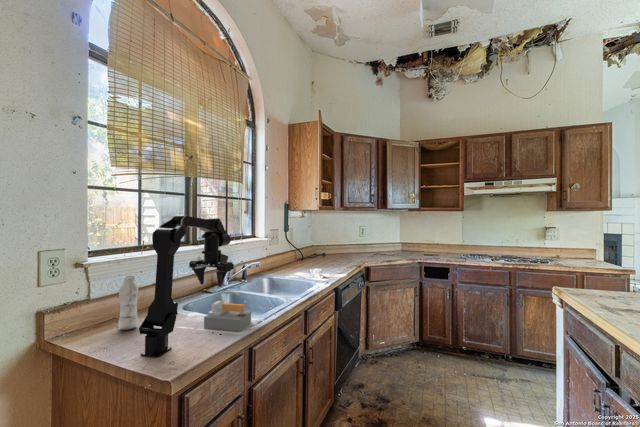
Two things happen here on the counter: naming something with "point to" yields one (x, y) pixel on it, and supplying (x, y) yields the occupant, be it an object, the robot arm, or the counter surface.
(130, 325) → the plastic bottle
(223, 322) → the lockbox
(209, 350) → the counter surface
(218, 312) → the cover
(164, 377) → the counter surface
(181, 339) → the counter surface
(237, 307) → the orange square pillar
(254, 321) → the counter surface
